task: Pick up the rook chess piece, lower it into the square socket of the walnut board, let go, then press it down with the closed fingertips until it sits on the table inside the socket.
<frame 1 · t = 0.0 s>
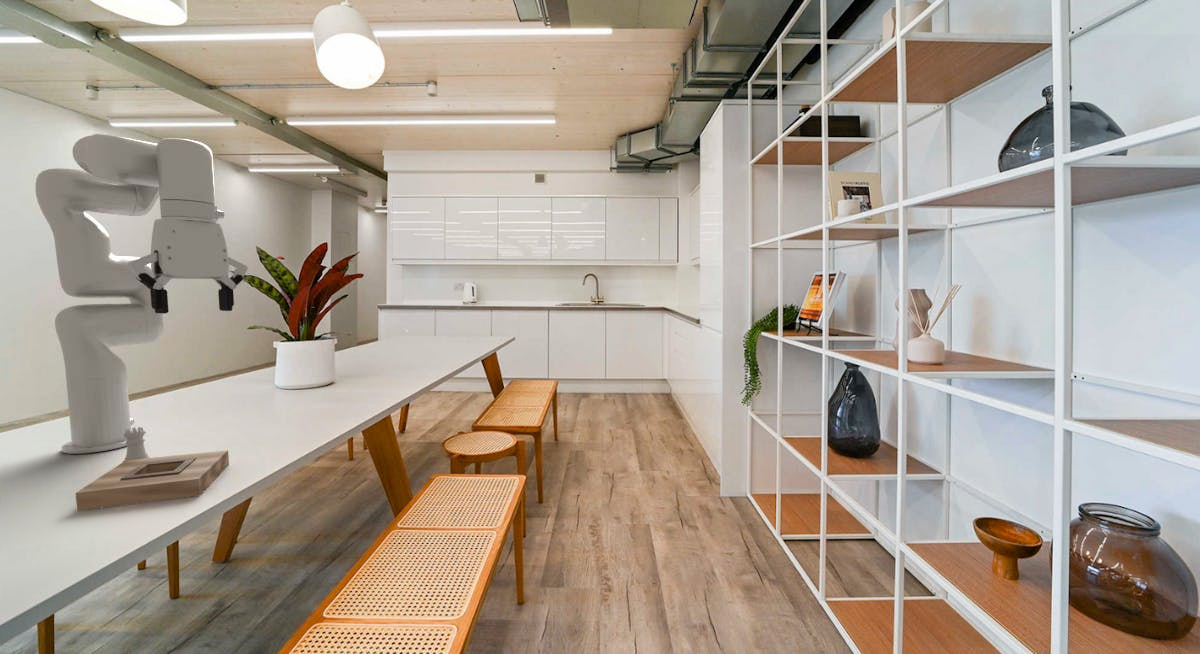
hand: (195, 311, 89), 31 cm above the table, tool pointing down, fingers open, 9 cm apart
walnut board: (161, 485, 90), on the table
rook chess piece: (137, 469, 99), on the table
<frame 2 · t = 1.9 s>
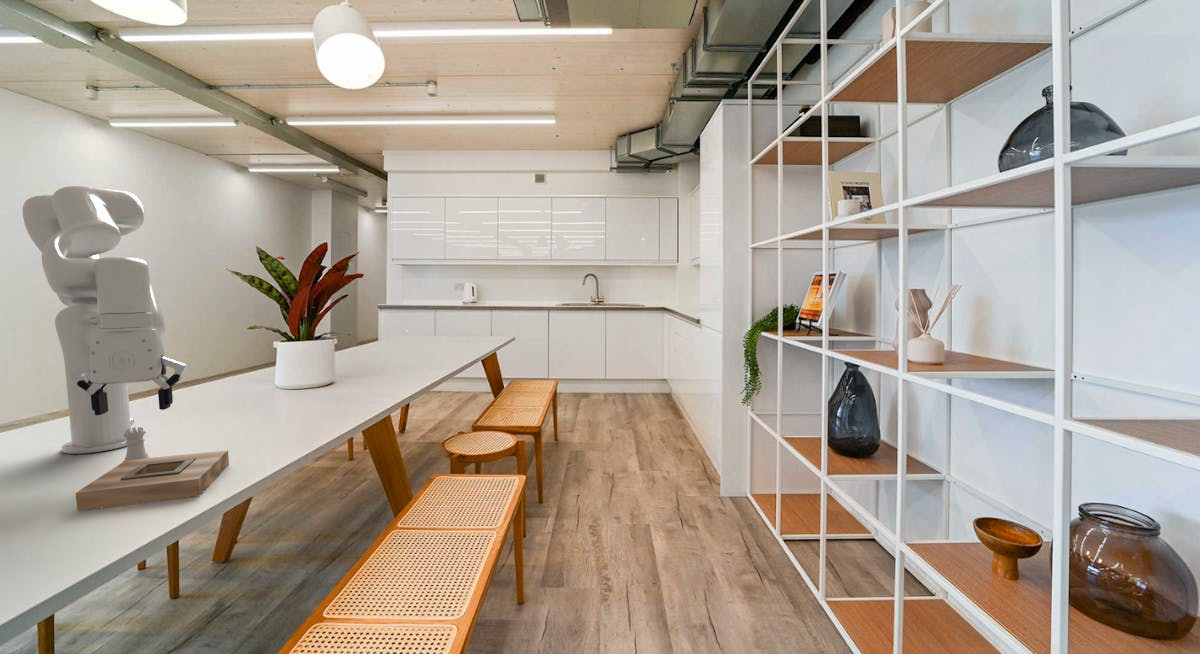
hand: (134, 411, 97), 12 cm above the table, tool pointing down, fingers open, 9 cm apart
nothing on the table moved.
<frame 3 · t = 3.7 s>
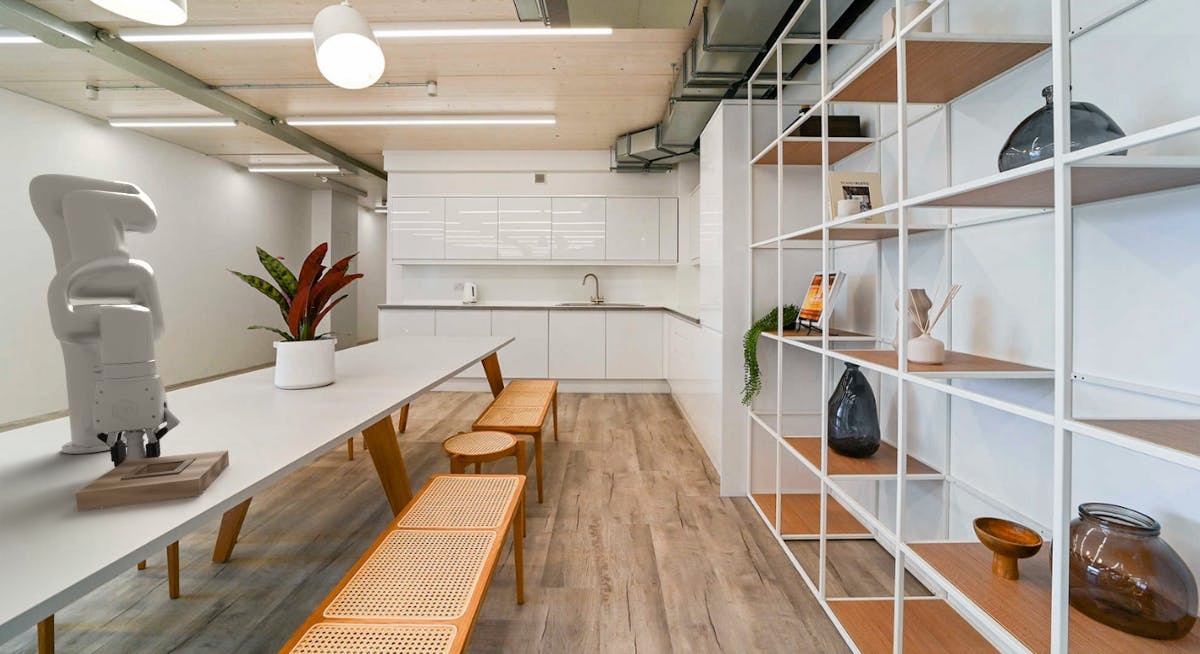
hand: (136, 462, 98), 1 cm above the table, tool pointing down, fingers closed on rook chess piece, 4 cm apart
rook chess piece: (137, 469, 99), on the table, touching gripper
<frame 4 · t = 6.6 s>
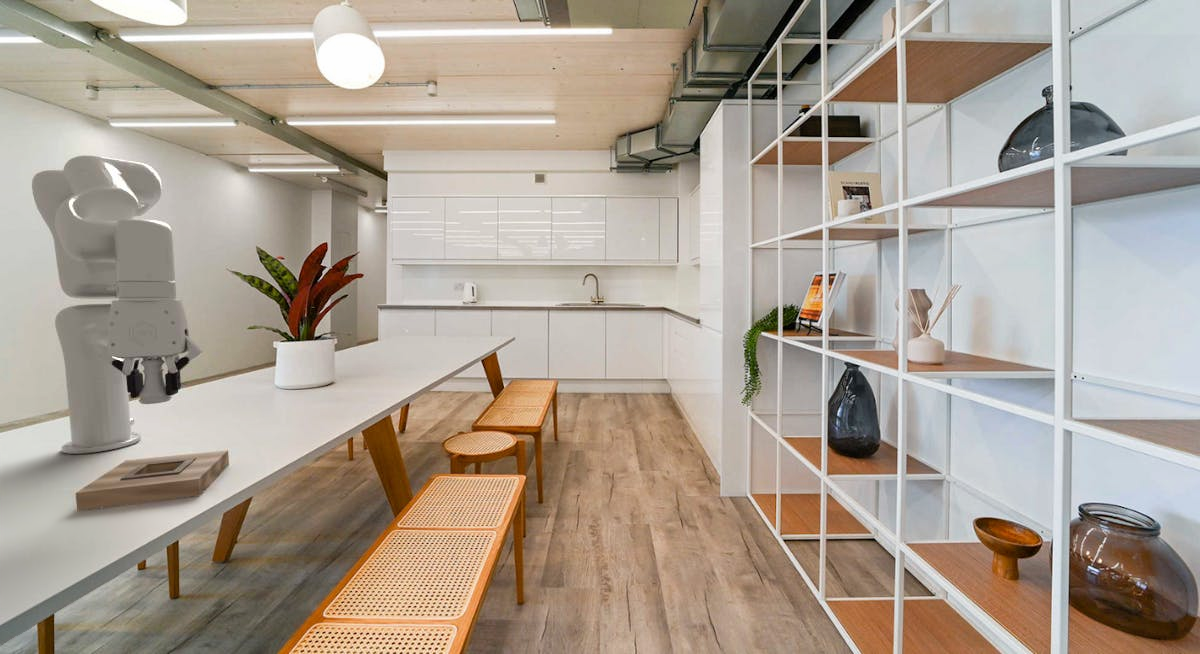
hand: (155, 394, 89), 17 cm above the table, tool pointing down, fingers closed on rook chess piece, 4 cm apart
rook chess piece: (155, 402, 89), point 15 cm above the table, touching gripper
when the fingers open (4 cm above the table, at t = 9.5 s): rook chess piece drops 2 cm, resting in walnut board.
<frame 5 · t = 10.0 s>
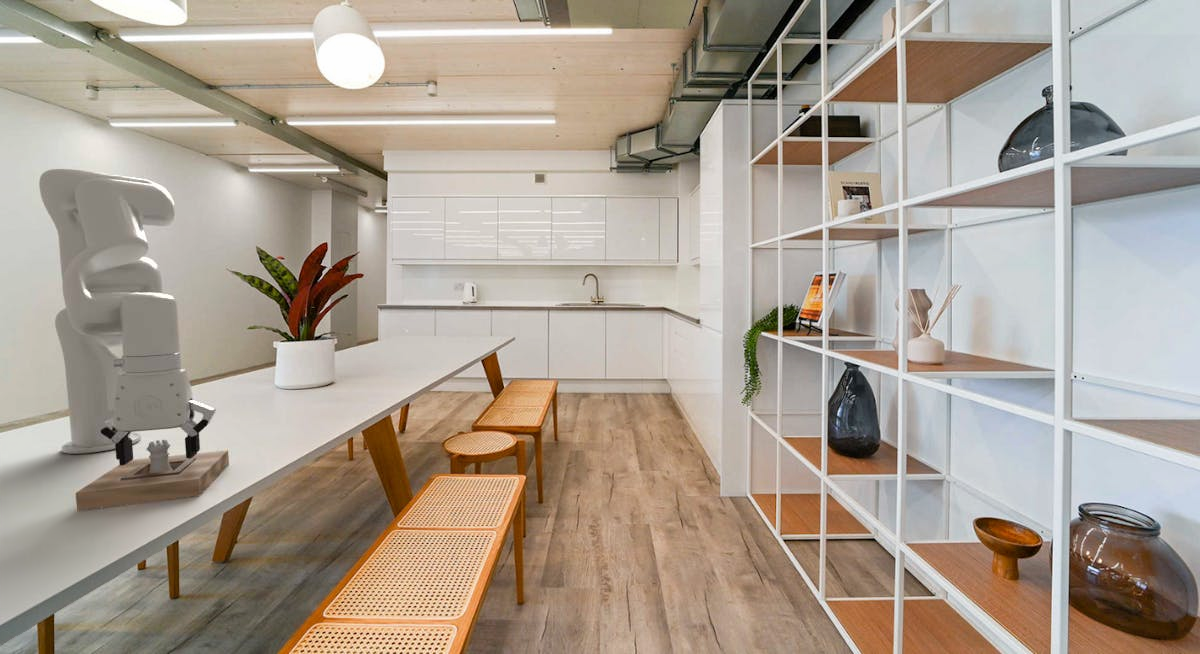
hand: (159, 459, 90), 5 cm above the table, tool pointing down, fingers open, 9 cm apart
rook chess piece: (161, 486, 91), resting in walnut board
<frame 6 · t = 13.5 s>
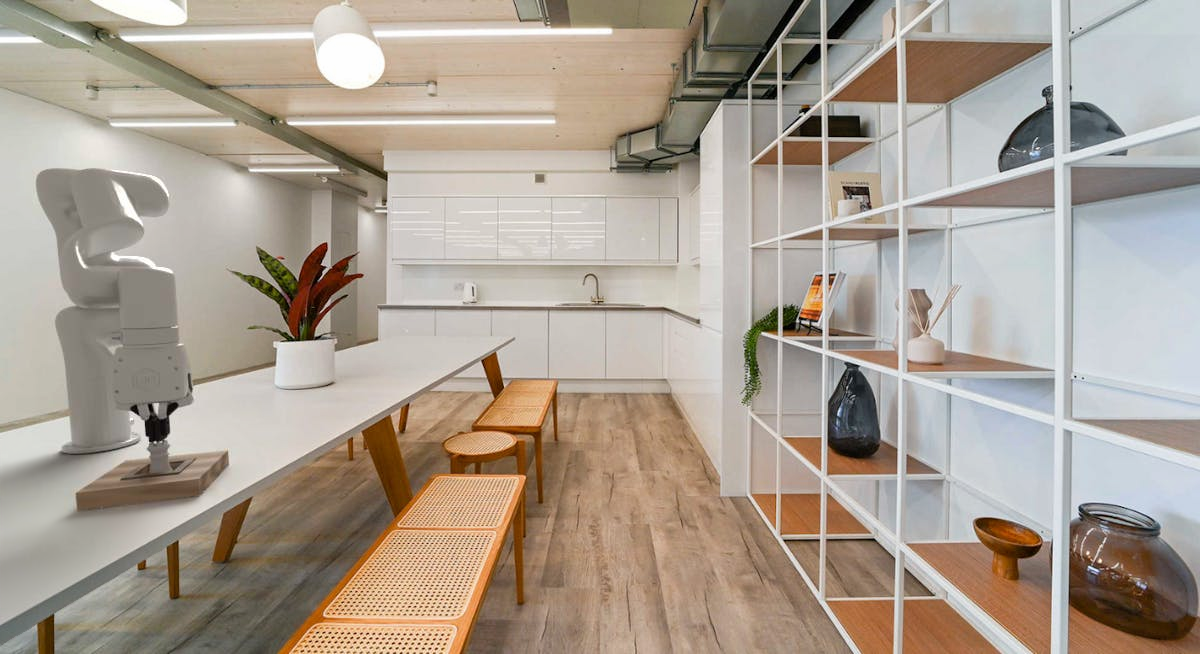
hand: (158, 439, 90), 8 cm above the table, tool pointing down, fingers closed
nothing on the table moved.
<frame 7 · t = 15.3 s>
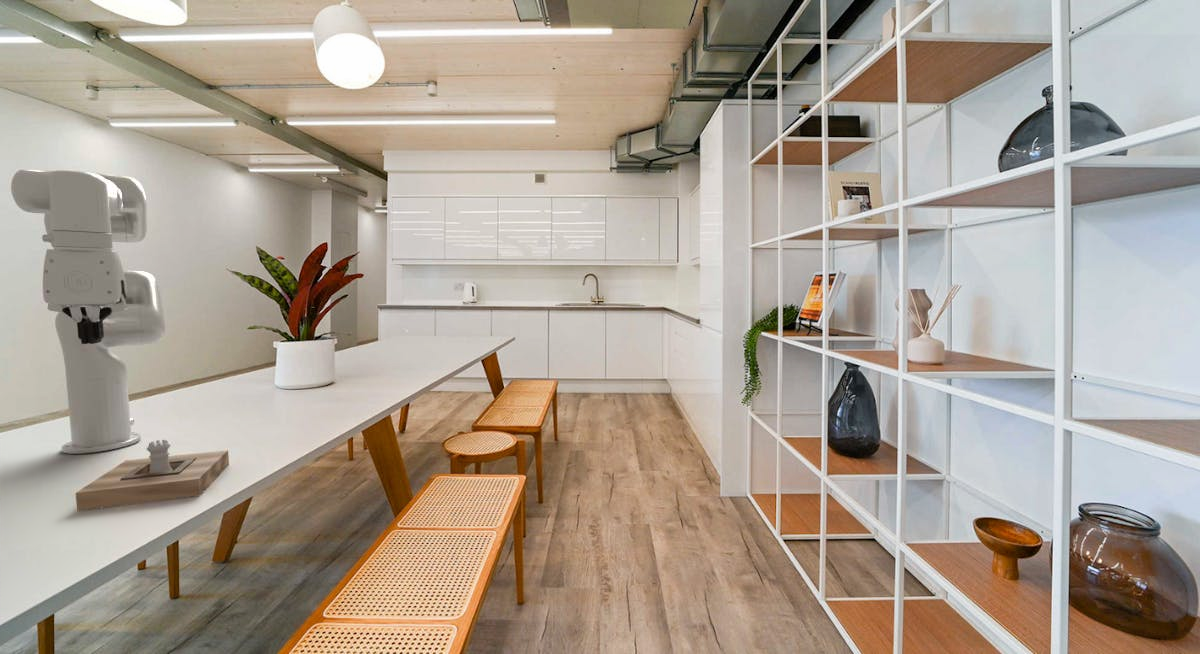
hand: (91, 342, 93), 25 cm above the table, tool pointing down, fingers closed
nothing on the table moved.
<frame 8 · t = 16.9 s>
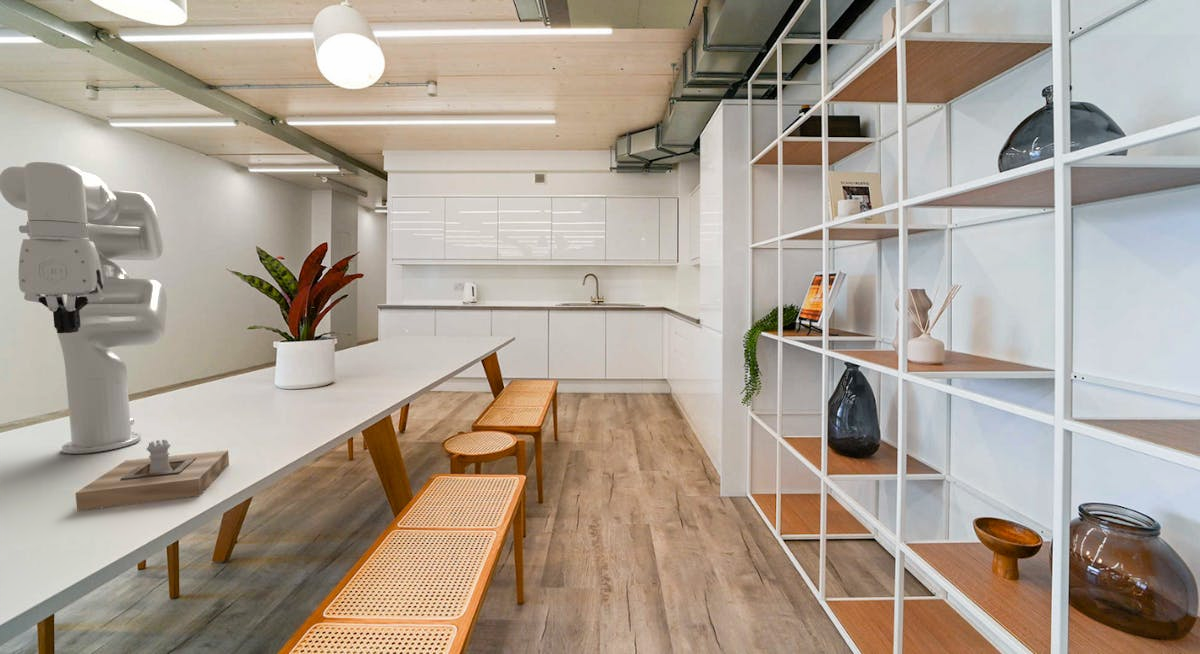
hand: (68, 332, 94), 27 cm above the table, tool pointing down, fingers closed
nothing on the table moved.
at the end: rook chess piece 0.1 cm off-centre in the walnut board, point 0.0 cm above the walnut board's base; rook chess piece tilted 0°; the gripper is holding nothing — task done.
